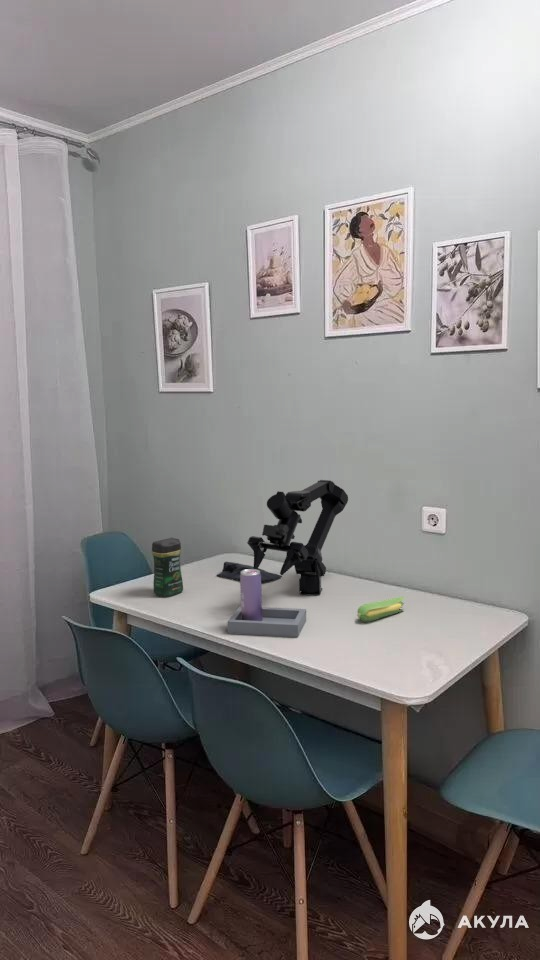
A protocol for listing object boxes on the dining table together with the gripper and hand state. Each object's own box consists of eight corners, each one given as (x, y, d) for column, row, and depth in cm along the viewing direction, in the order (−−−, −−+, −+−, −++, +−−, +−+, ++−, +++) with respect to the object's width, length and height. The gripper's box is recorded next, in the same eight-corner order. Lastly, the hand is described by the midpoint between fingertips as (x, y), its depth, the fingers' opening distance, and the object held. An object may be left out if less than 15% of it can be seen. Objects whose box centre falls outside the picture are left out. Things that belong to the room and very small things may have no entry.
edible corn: (351, 606, 202) (361, 606, 198) (401, 594, 213) (411, 594, 209) (354, 624, 201) (364, 624, 197) (404, 611, 212) (415, 611, 208)
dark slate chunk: (254, 589, 236) (253, 575, 235) (213, 576, 252) (212, 564, 251) (286, 578, 246) (285, 565, 245) (245, 567, 262) (244, 555, 261)
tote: (306, 620, 203) (306, 609, 202) (298, 637, 190) (297, 625, 190) (240, 617, 208) (239, 606, 207) (228, 633, 195) (227, 621, 194)
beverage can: (265, 624, 198) (263, 573, 196) (245, 627, 197) (243, 575, 194) (259, 617, 204) (257, 567, 202) (239, 620, 202) (237, 570, 200)
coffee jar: (165, 599, 226) (162, 543, 224) (150, 594, 232) (146, 540, 229) (187, 591, 234) (184, 537, 231) (172, 587, 239) (169, 534, 236)
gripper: (249, 510, 212) (230, 554, 205) (303, 516, 202) (284, 563, 195) (264, 529, 220) (245, 572, 213) (316, 536, 210) (298, 582, 203)
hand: (267, 572), depth 206 cm, fingers open, 9 cm apart
